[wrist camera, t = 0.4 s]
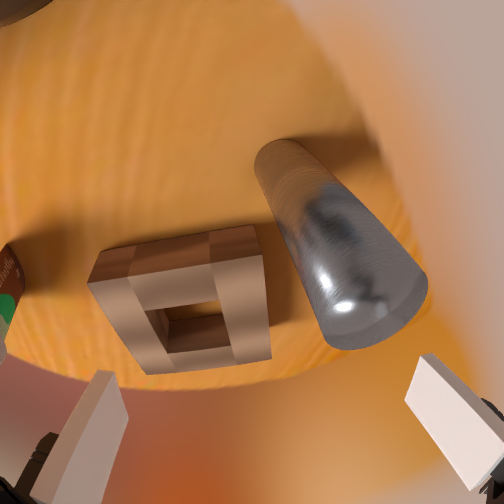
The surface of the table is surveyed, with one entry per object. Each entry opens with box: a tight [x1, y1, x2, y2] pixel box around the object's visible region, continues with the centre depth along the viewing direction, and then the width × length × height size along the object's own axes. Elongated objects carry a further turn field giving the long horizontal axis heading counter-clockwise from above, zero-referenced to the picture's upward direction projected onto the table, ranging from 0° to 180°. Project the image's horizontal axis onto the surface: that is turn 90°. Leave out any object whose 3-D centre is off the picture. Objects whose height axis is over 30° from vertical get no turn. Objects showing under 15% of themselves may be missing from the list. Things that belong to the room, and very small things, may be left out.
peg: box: [254, 139, 428, 350], centre depth 14 cm, size 4×4×14 cm
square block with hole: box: [87, 224, 272, 375], centre depth 24 cm, size 13×13×4 cm
